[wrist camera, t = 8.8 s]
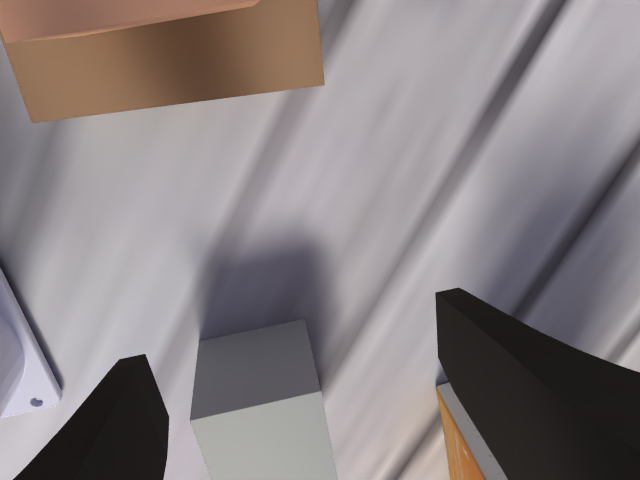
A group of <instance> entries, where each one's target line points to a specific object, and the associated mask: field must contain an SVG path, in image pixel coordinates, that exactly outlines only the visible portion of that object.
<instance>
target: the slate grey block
mask: <svg viewBox="0 0 640 480" xmlns="http://www.w3.org/2000/svg"><path fill="white" fill-rule="evenodd" d="M190 423H191V425H192V428H193V431H194V434H195V436H196V439H197V442H198V445H199V447H200V450H201V453H202V456H203V458H204V461H205V464H206V467H207V469H208V472H209V475H210V478H211V480H337V479H338V477H337V472H336V467H335V461H334V456H333V451H332V446H331V441H330V435H329V430H328V425H327V420H326V415H325V409H324V404H323V399H322V394H321V389H320V384H319V380H318V376H317V371H316V367H315V362H314V358H313V353H312V349H311V344H310V340H309V335H308V331H307V326H306V322H305V318H304V319H300V320H295V321H290V322H286V323H281V324H277V325H272V326H267V327H263V328H258V329H253V330H249V331H244V332H239V333H235V334H230V335H225V336H221V337H216V338H211V339H207V340H202V341H199V345H198V354H197V363H196V372H195V380H194V389H193V398H192V407H191V415H190Z"/></svg>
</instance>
